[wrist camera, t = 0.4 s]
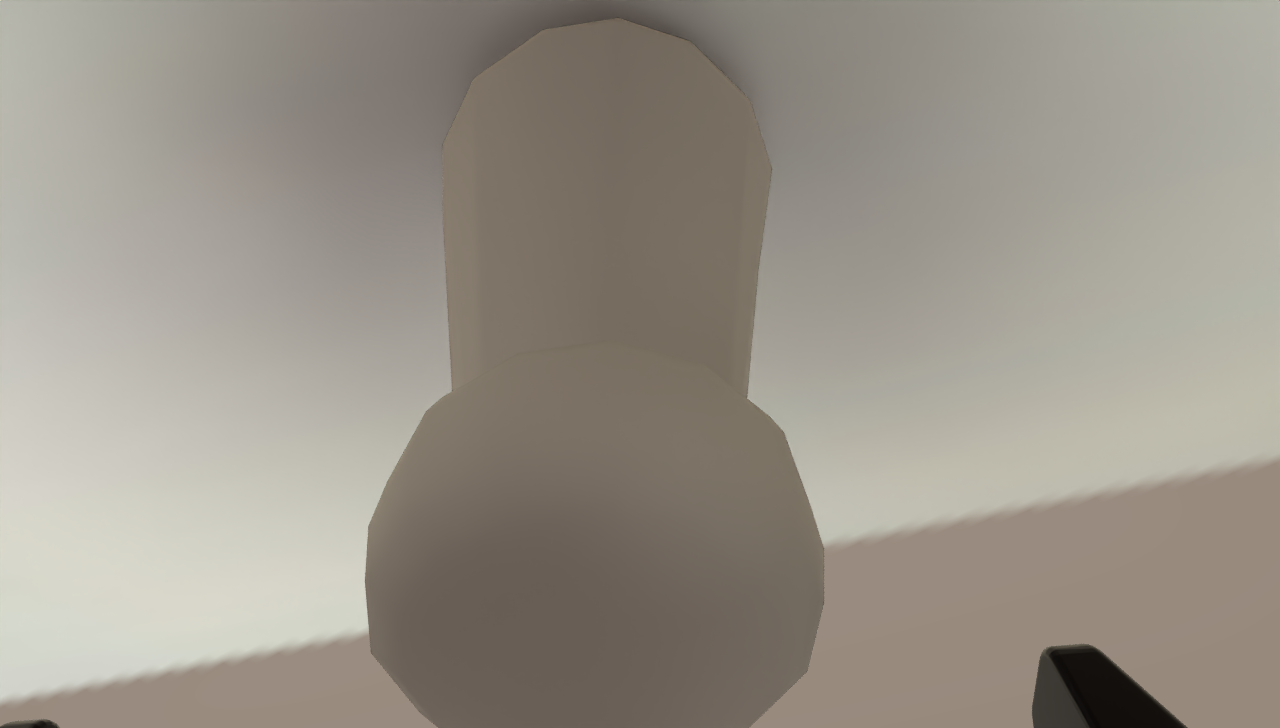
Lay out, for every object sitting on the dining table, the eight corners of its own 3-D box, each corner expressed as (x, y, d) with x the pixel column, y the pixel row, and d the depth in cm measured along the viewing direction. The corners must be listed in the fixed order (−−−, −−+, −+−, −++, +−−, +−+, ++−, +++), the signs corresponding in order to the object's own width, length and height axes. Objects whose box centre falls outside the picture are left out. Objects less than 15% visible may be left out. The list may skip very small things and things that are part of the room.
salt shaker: (573, 319, 21) (522, 928, 10) (398, 106, 19) (86, 625, 8) (808, 177, 20) (1040, 730, 9) (651, -78, 17) (703, 254, 6)
